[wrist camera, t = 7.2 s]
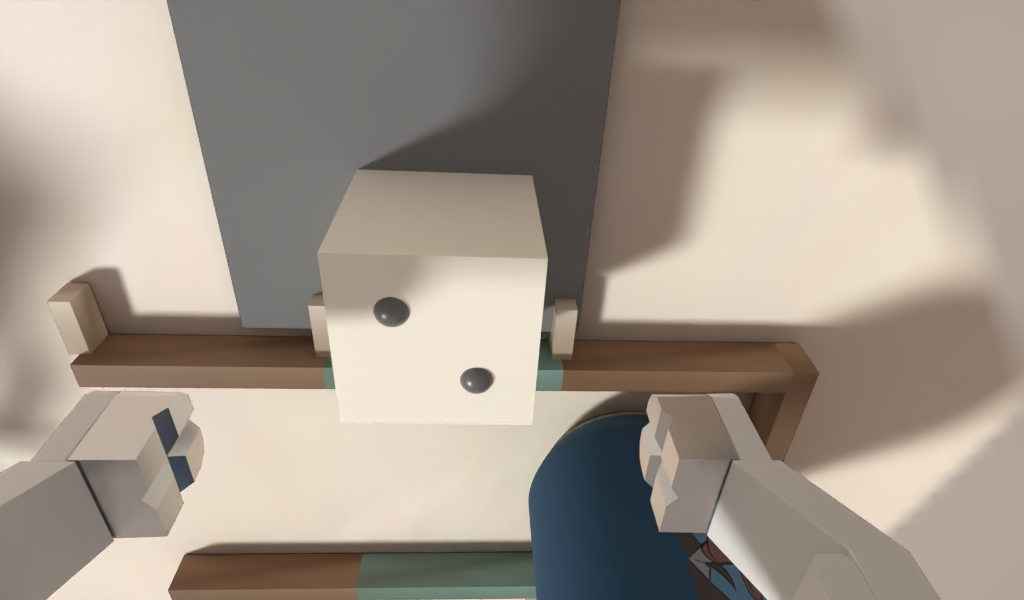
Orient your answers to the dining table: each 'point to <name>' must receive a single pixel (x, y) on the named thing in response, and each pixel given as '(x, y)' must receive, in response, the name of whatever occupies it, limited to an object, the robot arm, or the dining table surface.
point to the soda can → (616, 526)
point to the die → (435, 298)
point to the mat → (389, 120)
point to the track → (308, 365)
